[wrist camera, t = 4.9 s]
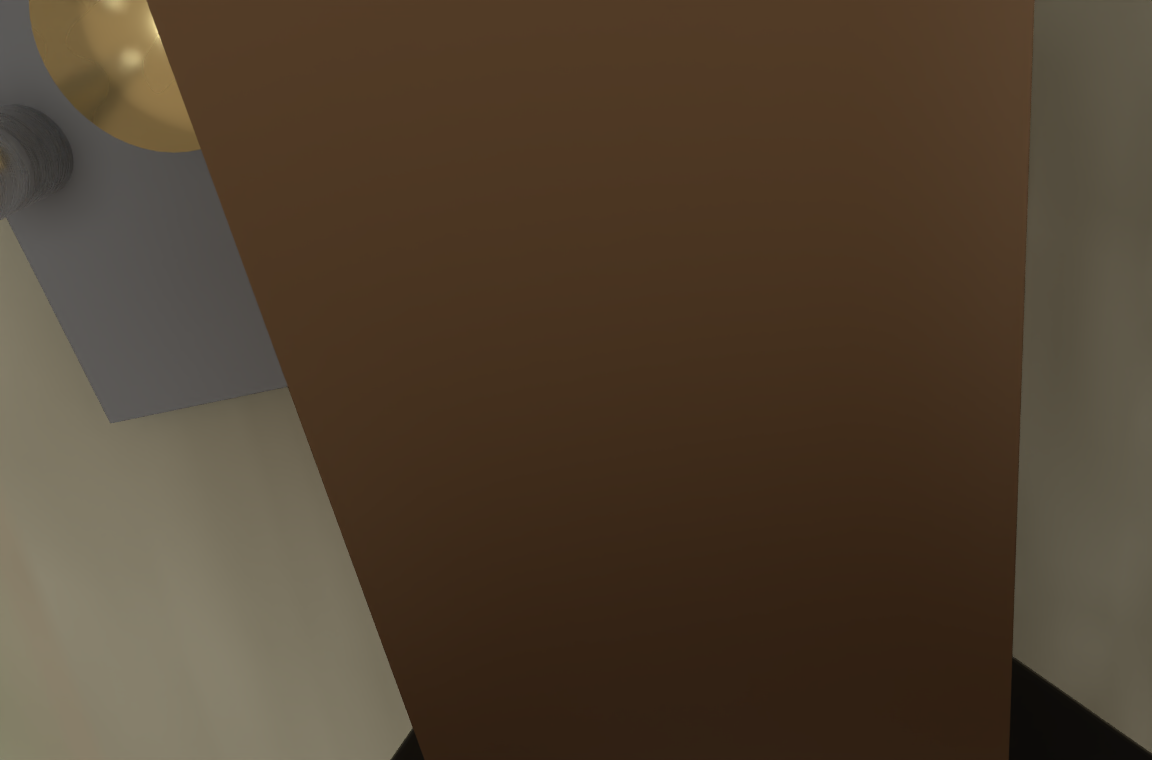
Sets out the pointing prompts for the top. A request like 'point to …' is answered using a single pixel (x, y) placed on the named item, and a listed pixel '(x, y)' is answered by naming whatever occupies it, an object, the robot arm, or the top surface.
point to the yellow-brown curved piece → (114, 70)
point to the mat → (136, 259)
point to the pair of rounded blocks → (30, 158)
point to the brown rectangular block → (649, 353)
